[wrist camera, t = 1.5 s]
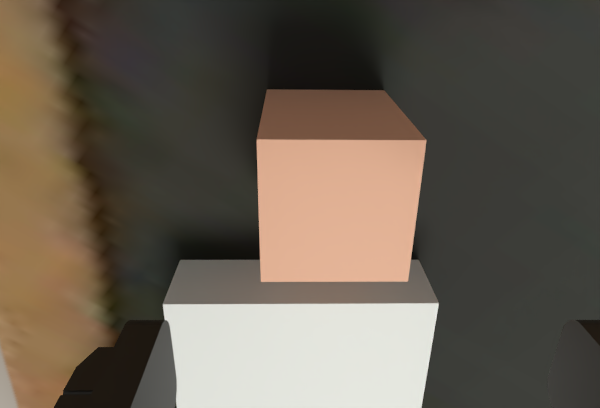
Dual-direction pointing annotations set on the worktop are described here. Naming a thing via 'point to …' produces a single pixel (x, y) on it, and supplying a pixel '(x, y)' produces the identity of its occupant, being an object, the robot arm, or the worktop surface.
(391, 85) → the worktop surface
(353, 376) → the white block
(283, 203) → the terracotta block
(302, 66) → the worktop surface
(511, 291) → the worktop surface
